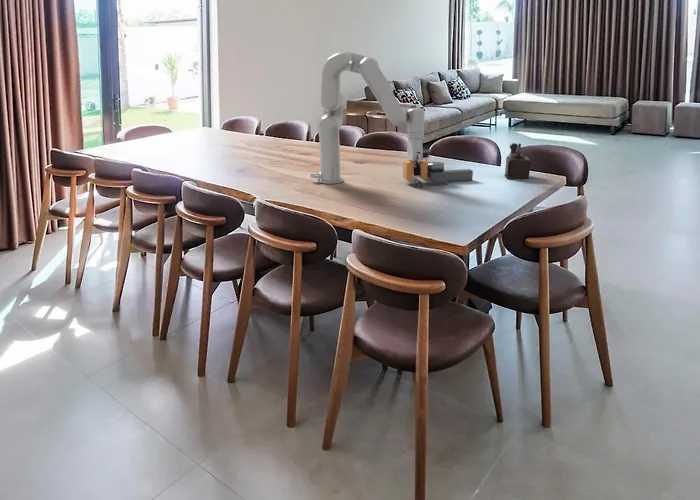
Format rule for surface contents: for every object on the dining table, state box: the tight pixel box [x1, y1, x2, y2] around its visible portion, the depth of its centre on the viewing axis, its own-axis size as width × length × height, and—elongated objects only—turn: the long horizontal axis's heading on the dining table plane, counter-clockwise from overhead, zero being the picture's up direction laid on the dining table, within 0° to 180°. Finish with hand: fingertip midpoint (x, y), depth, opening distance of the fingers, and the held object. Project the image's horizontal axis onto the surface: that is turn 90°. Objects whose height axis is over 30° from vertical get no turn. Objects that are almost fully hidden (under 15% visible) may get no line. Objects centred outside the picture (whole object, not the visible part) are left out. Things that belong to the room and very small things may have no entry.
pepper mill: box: [504, 142, 531, 180], centre depth 302 cm, size 16×11×18 cm
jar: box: [412, 149, 431, 178], centre depth 312 cm, size 9×8×12 cm
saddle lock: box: [402, 159, 428, 181], centre depth 295 cm, size 10×6×8 cm, turn 101°
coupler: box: [407, 161, 474, 189], centre depth 298 cm, size 30×18×9 cm, turn 101°
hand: (415, 173), depth 296 cm, fingers closed on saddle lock, 6 cm apart
